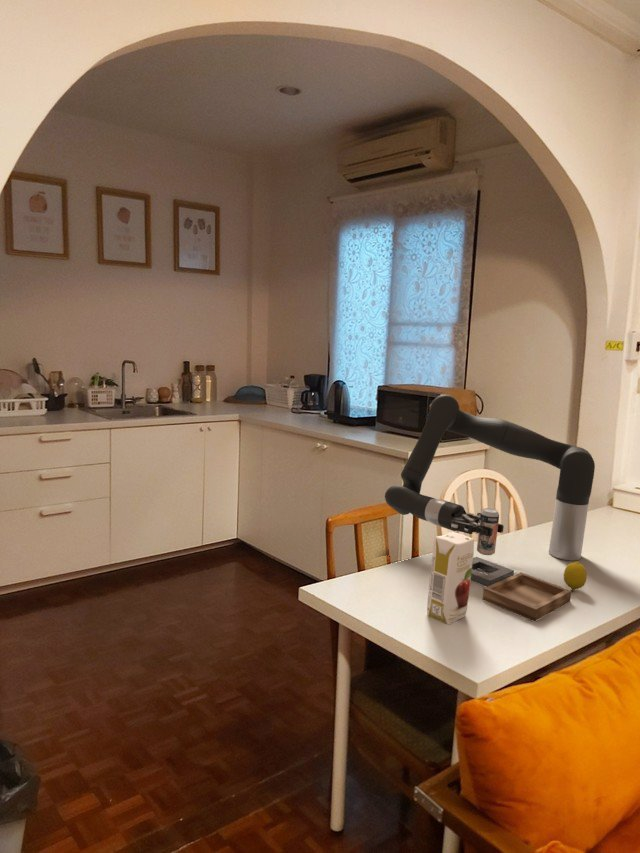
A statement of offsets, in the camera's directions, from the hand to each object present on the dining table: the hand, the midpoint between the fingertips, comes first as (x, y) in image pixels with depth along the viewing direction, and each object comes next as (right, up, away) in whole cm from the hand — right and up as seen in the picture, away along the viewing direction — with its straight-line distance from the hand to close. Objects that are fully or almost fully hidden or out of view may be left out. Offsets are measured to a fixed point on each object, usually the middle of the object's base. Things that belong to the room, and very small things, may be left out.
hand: (497, 530), depth 166 cm
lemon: (+19, -16, -2) cm, 25 cm away
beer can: (-2, -7, +3) cm, 8 cm away
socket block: (-3, -13, +4) cm, 14 cm away
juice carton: (-18, -16, -22) cm, 33 cm away
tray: (+4, -16, -11) cm, 19 cm away
